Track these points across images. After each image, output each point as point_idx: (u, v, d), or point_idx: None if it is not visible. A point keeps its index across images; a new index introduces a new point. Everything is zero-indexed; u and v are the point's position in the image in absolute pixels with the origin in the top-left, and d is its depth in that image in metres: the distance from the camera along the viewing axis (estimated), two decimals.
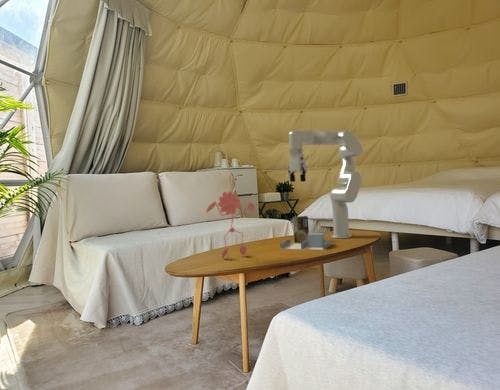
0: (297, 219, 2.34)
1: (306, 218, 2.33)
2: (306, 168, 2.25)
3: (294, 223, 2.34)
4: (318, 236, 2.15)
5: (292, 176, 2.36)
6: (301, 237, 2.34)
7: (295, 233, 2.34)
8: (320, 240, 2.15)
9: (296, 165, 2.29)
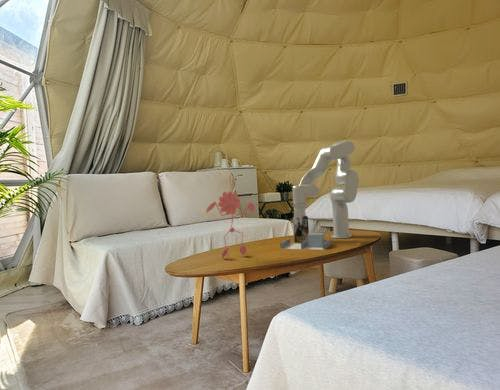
0: None
1: (306, 218, 2.33)
2: None
3: None
4: (318, 236, 2.15)
5: None
6: (301, 237, 2.34)
7: (295, 233, 2.34)
8: (320, 240, 2.15)
9: None
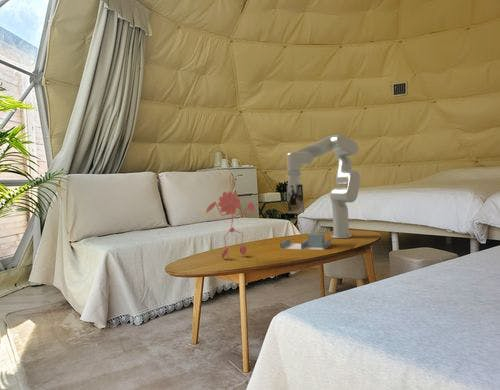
0: None
1: (301, 186, 2.24)
2: None
3: None
4: (318, 236, 2.15)
5: None
6: (295, 206, 2.25)
7: (289, 201, 2.25)
8: (320, 240, 2.15)
9: None
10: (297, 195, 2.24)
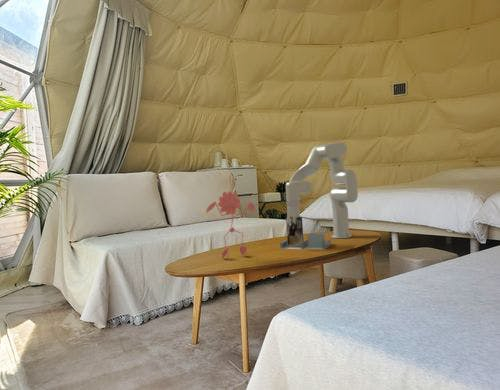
0: None
1: (300, 219, 2.19)
2: None
3: (287, 224, 2.20)
4: (318, 236, 2.15)
5: None
6: (294, 239, 2.20)
7: (288, 235, 2.20)
8: (320, 240, 2.15)
9: None
10: (296, 228, 2.20)
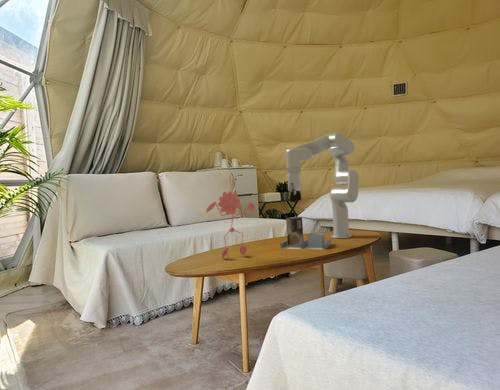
0: (290, 220, 2.20)
1: (300, 219, 2.19)
2: None
3: (287, 224, 2.20)
4: (318, 236, 2.15)
5: None
6: (294, 240, 2.20)
7: (288, 235, 2.20)
8: (320, 240, 2.15)
9: (300, 184, 2.24)
10: (296, 229, 2.19)
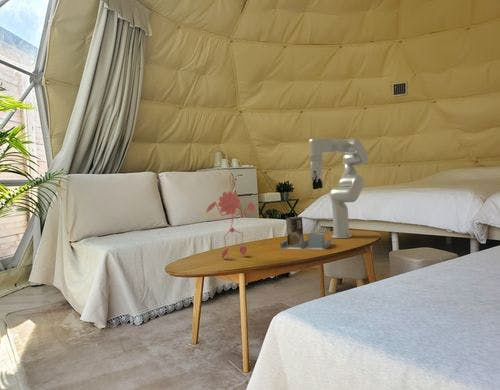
0: (290, 220, 2.20)
1: (300, 219, 2.19)
2: None
3: (287, 224, 2.20)
4: (318, 236, 2.15)
5: None
6: (294, 240, 2.20)
7: (288, 235, 2.20)
8: (320, 240, 2.15)
9: (321, 172, 2.34)
10: (296, 229, 2.19)
